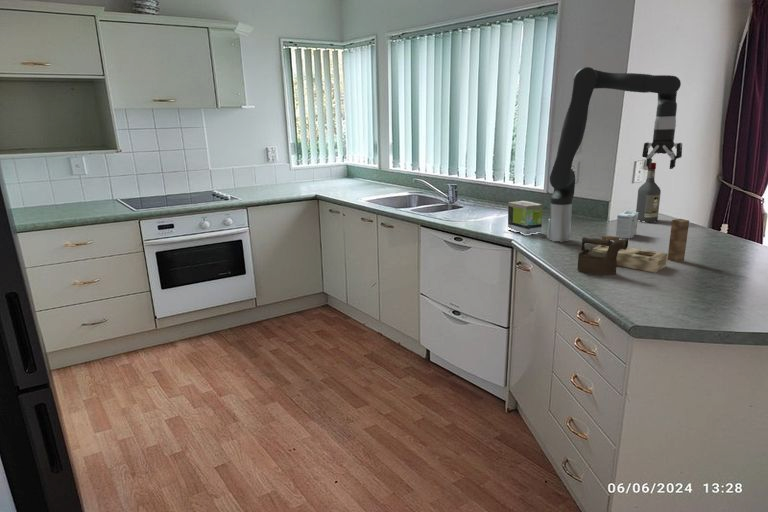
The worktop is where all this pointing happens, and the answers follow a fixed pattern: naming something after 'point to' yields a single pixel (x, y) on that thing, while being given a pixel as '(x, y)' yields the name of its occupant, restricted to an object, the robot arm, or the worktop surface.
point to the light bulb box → (627, 224)
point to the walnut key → (678, 240)
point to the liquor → (648, 198)
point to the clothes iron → (600, 256)
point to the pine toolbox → (636, 257)
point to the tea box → (525, 216)
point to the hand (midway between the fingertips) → (660, 168)
